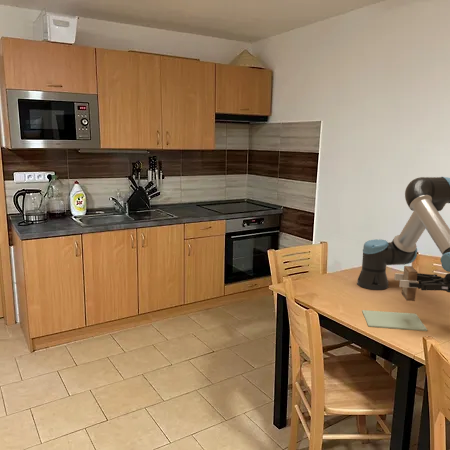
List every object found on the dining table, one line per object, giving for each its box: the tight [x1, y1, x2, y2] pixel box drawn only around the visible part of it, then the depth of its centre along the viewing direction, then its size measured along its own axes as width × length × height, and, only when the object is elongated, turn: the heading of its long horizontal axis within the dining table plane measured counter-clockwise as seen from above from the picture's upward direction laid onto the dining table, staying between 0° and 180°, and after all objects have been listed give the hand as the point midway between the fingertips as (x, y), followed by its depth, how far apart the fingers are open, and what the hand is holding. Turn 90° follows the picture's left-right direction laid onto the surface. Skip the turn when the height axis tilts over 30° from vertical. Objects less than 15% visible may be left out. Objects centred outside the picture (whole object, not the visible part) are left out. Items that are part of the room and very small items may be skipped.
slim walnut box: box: [401, 265, 419, 302], centre depth 170 cm, size 3×8×12 cm, turn 171°
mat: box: [361, 309, 428, 332], centre depth 174 cm, size 22×16×1 cm
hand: (397, 280), depth 171 cm, fingers closed on slim walnut box, 8 cm apart
